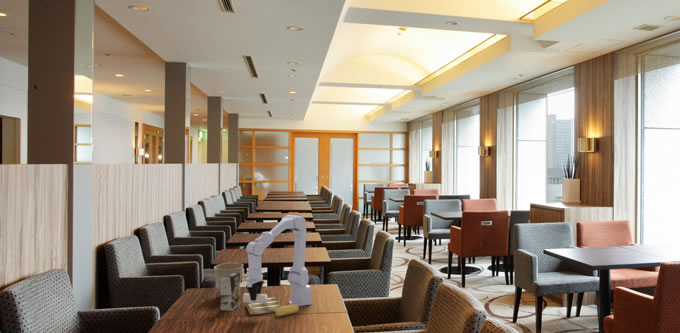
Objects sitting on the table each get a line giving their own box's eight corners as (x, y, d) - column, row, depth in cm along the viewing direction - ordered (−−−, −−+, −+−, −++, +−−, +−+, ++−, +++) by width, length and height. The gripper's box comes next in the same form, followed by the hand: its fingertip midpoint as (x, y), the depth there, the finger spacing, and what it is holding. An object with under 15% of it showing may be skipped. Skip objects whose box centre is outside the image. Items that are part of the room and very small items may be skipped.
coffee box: (232, 311, 212) (232, 276, 212) (220, 310, 214) (219, 276, 214) (241, 305, 221) (240, 272, 221) (228, 304, 223) (228, 271, 222)
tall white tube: (267, 301, 205) (266, 292, 204) (264, 304, 201) (263, 296, 201) (246, 300, 207) (246, 291, 206) (243, 303, 203) (242, 295, 202)
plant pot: (221, 291, 244) (220, 262, 244) (247, 292, 242) (247, 263, 242) (209, 300, 229) (209, 268, 229) (237, 301, 227) (237, 269, 227)
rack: (275, 302, 224) (275, 296, 224) (280, 311, 212) (280, 304, 212) (246, 306, 220) (246, 299, 220) (250, 314, 207) (250, 308, 207)
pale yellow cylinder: (294, 311, 212) (294, 302, 212) (298, 313, 209) (298, 304, 209) (275, 315, 207) (275, 306, 207) (279, 317, 203) (279, 308, 203)
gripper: (252, 264, 211) (252, 293, 211) (240, 272, 197) (240, 303, 197) (266, 265, 210) (267, 294, 210) (255, 272, 196) (255, 304, 196)
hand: (255, 298), depth 204 cm, fingers closed on tall white tube, 4 cm apart
